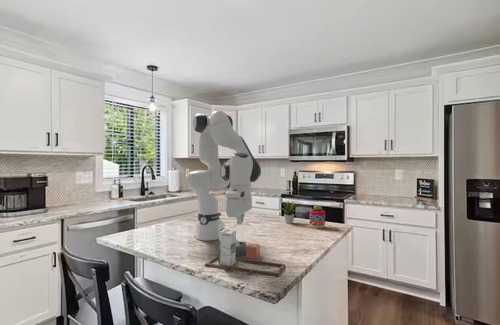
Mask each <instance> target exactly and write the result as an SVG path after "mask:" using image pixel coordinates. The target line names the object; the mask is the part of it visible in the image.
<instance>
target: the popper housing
mask: <svg viewBox="0 0 500 325" xmlns="http://www.w3.org/2000/svg"><path fill="white" fill-rule="evenodd" d="M238 241H239V240H238ZM239 243H240V246H238V247H237V246H236V258H239V257H242V256H243V255H244V254H246V246H247V242H246V241H239Z"/></svg>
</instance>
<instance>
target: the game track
mask: <svg viewBox="0 0 500 325" xmlns="http://www.w3.org/2000/svg"><path fill="white" fill-rule="evenodd" d="M216 260H219V254H218V255H215V256H214V257H213V258H211V259H209V260H208V261H206V262H205V263H204V266H205V267H211V268H216V269H223V270H225V272H229V271H237V272H244V273H248V275H249V276H252V274H255V275H256V274H257V275H265V276H271V277H276V278H278V277H279V276H280V275H281V273H283V271H284V268H286V263H278V262H271V261H270V262H268V261H264V259H259V260H254V259H247V258H243V257H242V256H240V257H236V262H241V263H248V264H257V265H263V266H264V265H265V266H272V267H279V268H278V270H277V271H276V272H273V271H266V270H259V269H253V268H246V267H245V268H244V267H238V266H233V265H232V266H225V265H218V264H216V263H214V262H216ZM282 270H283V271H282Z"/></svg>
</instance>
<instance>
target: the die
mask: <svg viewBox="0 0 500 325" xmlns="http://www.w3.org/2000/svg"><path fill="white" fill-rule="evenodd" d="M260 253H261V245H260V244H257V243H248V244H246V252H245V256H246V258H250V259H258V258H259V257H260V256H261V254H260Z"/></svg>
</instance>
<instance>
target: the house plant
mask: <svg viewBox="0 0 500 325" xmlns="http://www.w3.org/2000/svg"><path fill="white" fill-rule="evenodd" d="M293 202H294V201H292V202H291V203H290V201H289V200H287V201H286V202H284V203H283V202H282V205H283V207H284V208H283V207H282V208H280V209H281V210H283V212H285V213H284V214H283V215H284V221H285V225H286V224H287V225H292V224H294V218H295V214H294V212H296V211H298V209H297V208H299V207H300V206H298V205H297V203H296V202H294V203H293Z"/></svg>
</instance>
